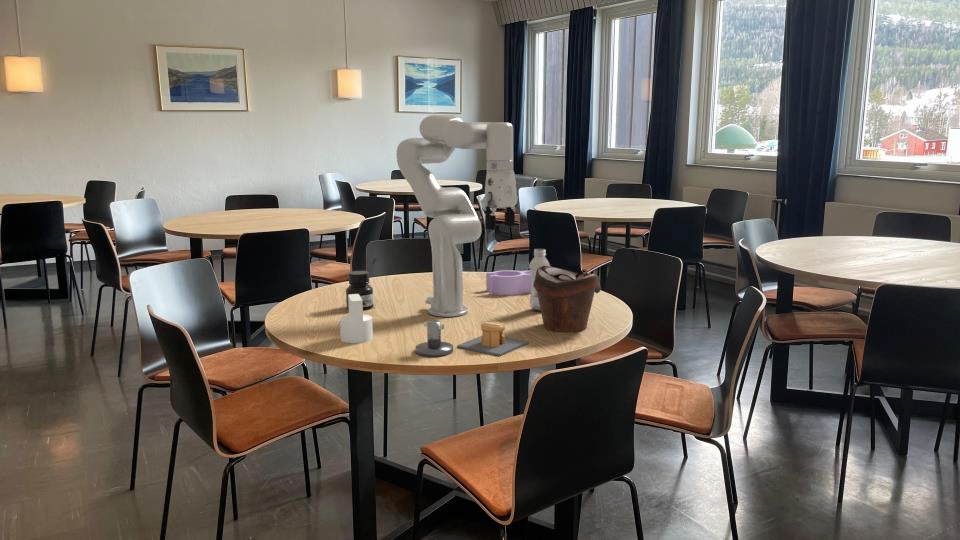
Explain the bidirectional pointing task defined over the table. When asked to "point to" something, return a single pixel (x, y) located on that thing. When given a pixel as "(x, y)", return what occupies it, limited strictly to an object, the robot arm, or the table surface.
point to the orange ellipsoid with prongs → (492, 334)
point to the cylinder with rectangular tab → (356, 322)
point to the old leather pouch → (565, 297)
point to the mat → (498, 351)
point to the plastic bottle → (534, 265)
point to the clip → (508, 282)
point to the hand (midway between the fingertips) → (500, 227)
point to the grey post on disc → (434, 341)
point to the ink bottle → (360, 288)
